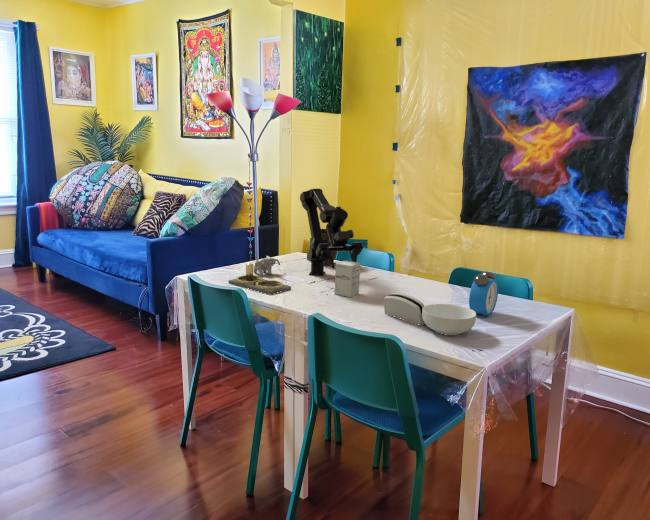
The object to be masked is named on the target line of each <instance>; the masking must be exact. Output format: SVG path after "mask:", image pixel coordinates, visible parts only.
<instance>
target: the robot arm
mask: <svg viewBox="0 0 650 520" xmlns="http://www.w3.org/2000/svg"><path fill="white" fill-rule="evenodd" d="M299 200H300V202H301V206H302V208H303V209H304V210H305V211H306V214H307V218H308V219H307V220H308V225H309V232H310V238H311V237H312V239H311V243H310V245H309V250H308V252H307V253H306V260H307V261H308V262H310V272H309V273H308V275H309V276H319V277H320V276H322V277H324V275H325V274H326V271H325V265H324V261H326V262H328V263H329V265H328V266H330V267H332V268H333V269H335V268H336V265H335V261H334V262H333V259H332V256H331V252H334V251H336V252H337V253H339V252H349V254H350V255H349V257H350V261H351V262H357V263H358V256H359V255H360V254H361V252H362V251H363V249H364V244H363V243H362V242H361V241H354V242H351V245H347V244H348V243H349V242H348V241H349V240H351V239H354V237H355V236H354V231H353V229H348V230H342V229H341V228H342V227H343V226H345V223H346V221H347V219H348V217H349V214H348V212H347V210H345V209H343V208H342V206H333V205H331V204H330V202H329V201H328V199H327V198H326V196H325V195H324V192H323V189H322V188H310V189H309V190H306V191H302V192H301V193H300V196H299ZM318 210H319V211H320V212H319V211H318ZM321 223H323V224H326V226H325V229H326V230H325V232H327V233H328V236H329V243H331V246H330V247H329V244H328V242H327V240H324V239H323V238H322V233H321V229H322V228H321Z"/></svg>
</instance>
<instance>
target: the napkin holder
mask: <svg viewBox="0 0 650 520" xmlns="http://www.w3.org/2000/svg"><path fill="white" fill-rule="evenodd" d="M423 307H425V304H424V303H423V302H422V301H421V300H419V299H418V298H415V297H413V296H412V295H409V294H405V293H402V292H393V293H389V294H387V295H386V296H384V298H383V308H384V314H385V315H386V314H388V315H387V316H389V315H392V316H395V317H398V318H397V319H399V318H401V319H400V320H402V319H404V320H403V321H405V320H407V321H406V322H408V321H410V322H409V323H411V322H413V323H412V324H414V323H416V324H415V325H417V324H419V325H418V326H420V325H424V326H425V322H424V321H423V317H422V309H423ZM392 316H391V317H392ZM395 317H394V318H395Z"/></svg>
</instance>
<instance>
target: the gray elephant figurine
mask: <svg viewBox="0 0 650 520" xmlns="http://www.w3.org/2000/svg"><path fill="white" fill-rule="evenodd" d="M276 262H277V264H278V266H281V263H280V260H279V259H278V258H277V259H276V258H274V257H271V256H268V255H266V257H264V258H263V257H262V258H260V259H258V258H257V259H256V260H255V262H254V263H255V264H254V265H253V274H256V273H257V272H258V273H259V276H260V277H263V276H264V273H267V275H269V276H272V267H273V266H274V265H275V264H276Z"/></svg>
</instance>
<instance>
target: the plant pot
mask: <svg viewBox="0 0 650 520" xmlns="http://www.w3.org/2000/svg"><path fill="white" fill-rule="evenodd" d="M325 230H326V228H321V233H322V238H323V239H324V240H327V242H328V244H329V247H330V246H331V243H329V236H328V233H327V232H325ZM310 239H311V240H312V237H311V236H310ZM337 253H338V252H336V251H334V252H331V256H332V259H333V262H334V263H335V260H336V257H337V255H338V254H337ZM324 266H330V265H329V263H328V262H326V261H324Z"/></svg>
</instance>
